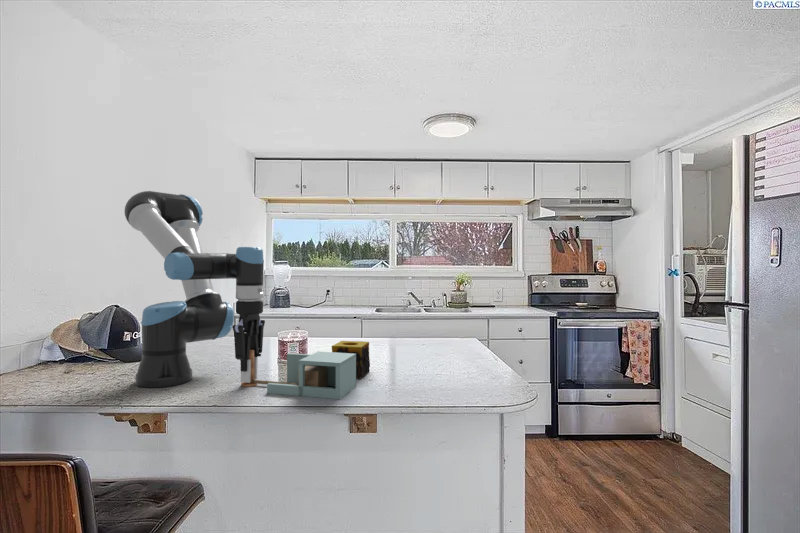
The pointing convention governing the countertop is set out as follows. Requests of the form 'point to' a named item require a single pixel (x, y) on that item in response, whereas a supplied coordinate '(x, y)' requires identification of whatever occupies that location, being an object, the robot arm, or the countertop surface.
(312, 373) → the tethered block
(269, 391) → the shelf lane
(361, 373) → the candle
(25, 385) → the countertop surface
